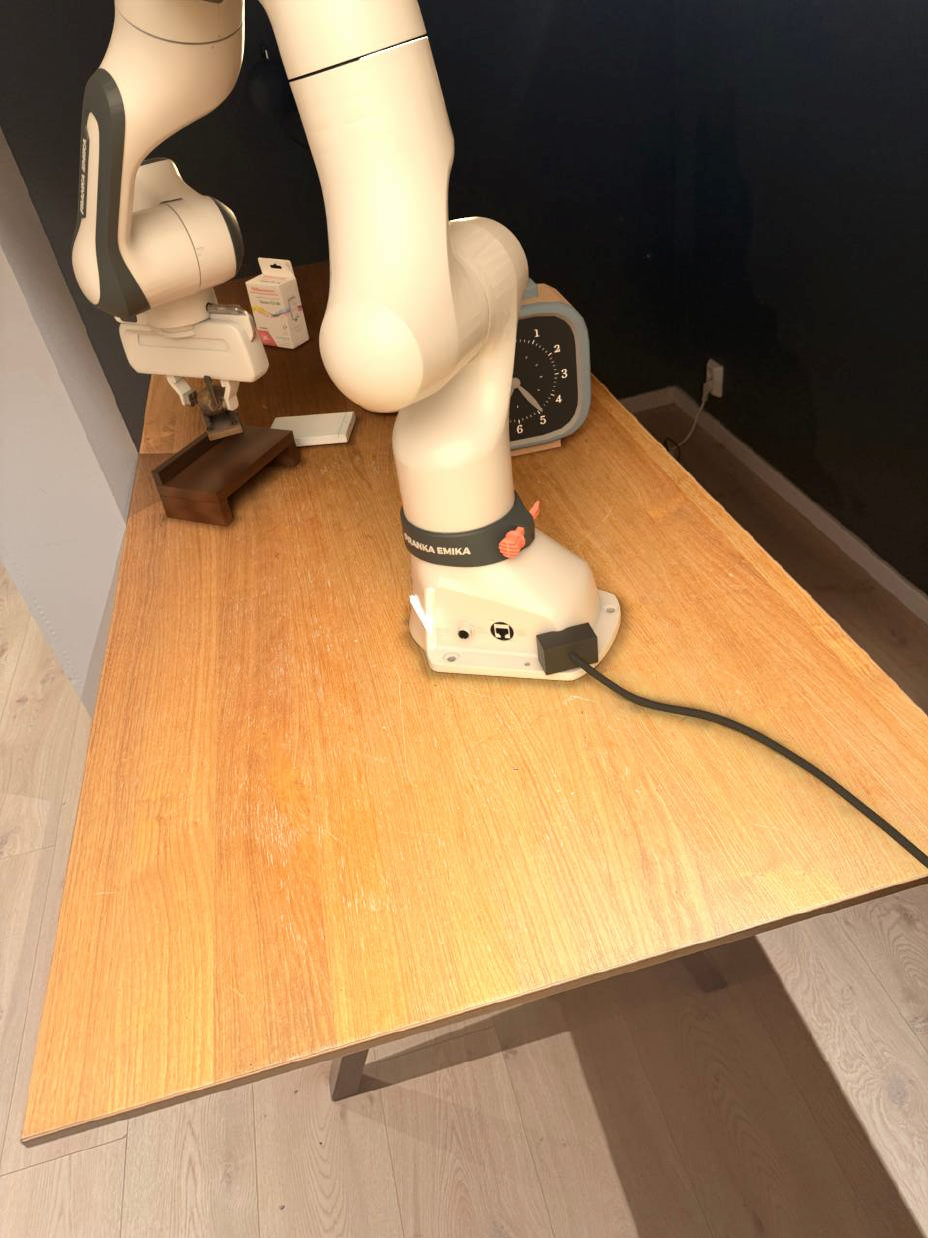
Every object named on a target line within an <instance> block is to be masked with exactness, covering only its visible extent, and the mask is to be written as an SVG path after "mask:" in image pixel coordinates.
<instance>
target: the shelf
mask: <svg viewBox="0 0 928 1238" xmlns="http://www.w3.org/2000/svg"><path fill="white" fill-rule="evenodd" d="M235 412H236V415H237V417H238V420H239V422H240V424H241V427H242V430H243V432H241V433H237V434H234V435H230V436H226V437H223V438H219V439H215V440H211V441H210V439H209V436H208V433H207V430H205V431H204V432H202V433H201V434H200V435H198V436H197V437H196V438H195V439H193V440H192V441H190V442H189V443H188V444H187V445H185V446H184V447H182V448H181V449H179V450H178V451H177V452H176V453H174V454H173V455H171V456H170V457H169V458H167V459H166V460H165V461H163V462H162V463H161V464H158V466H157V467H155V468H154V469H152V470H151V475H152V478H153V481H154V484H155V486H156V489H157V492H158V495H159V498H160V500H161V501H160V502H161V504H162V506H163V509H164V512H165V515H166V517H167V518H170V519H175V520H182V521H189V522H196V523H201V524H207V525H213V526H218V527H219V526H220V527H228V526H229V525H230V524H231V523H233V522H234V517H233V514H232V511H231V508H230V504H229V501H228V499H227V498H229V497H230V496H231V495H232V494H233V493H235V492H236V491H237V490H238V489H239V488H241V487H242V486H243V485H244V484H245V483H247V482H248V481H249V480H250V479H251V478H252V477H254V476H255V475H256V474H257V473H258V472H260V471H261V470H262V469H263V468H264V467H265V466H267V465H275V466H281V467H290V468H295V467H296V466H298V465H299V464H300V463H301V460H300V455H299V451H298V447H296V443H295V439H294V435H293V431H291V430H282V429H272V428H271V427H261V426H251V425H243V424H242V420H241V417H240V412H238V411H235Z"/></svg>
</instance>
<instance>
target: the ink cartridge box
mask: <svg viewBox="0 0 928 1238" xmlns="http://www.w3.org/2000/svg"><path fill="white" fill-rule="evenodd" d="M257 262H258V265H259V268H260V270H261V273H260V274H259V275H257V276H255V277H253V278H251V279H248V280H247V281H245V287H246V291H247V292H246V293H247V296H248V299H249V303H250V307H251V311H252V315H253V321H254V324H255V327H256V329H257V331H258V334H259V336H260V339H261V341H262V344H263V346H271V347H277V348H284V349H290V350H295V349H296V348H298V347H299V346H301V345H303V344H305V343H306V342H308V341H309V340H310V336H309V332H308V328H307V322H306V319H305V314H304V310H303V304H302V301H301V300H302V299H301V295H300V291H299V287H298V281H297V278H296V276H295V273H294V269H293V266H292V262H291V261H290V260H289V259H279V258H271V257H270V258H269V257H267V258H266V257H257ZM274 265H276V266H279V267H281V268H275V267H271V266H274Z"/></svg>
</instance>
